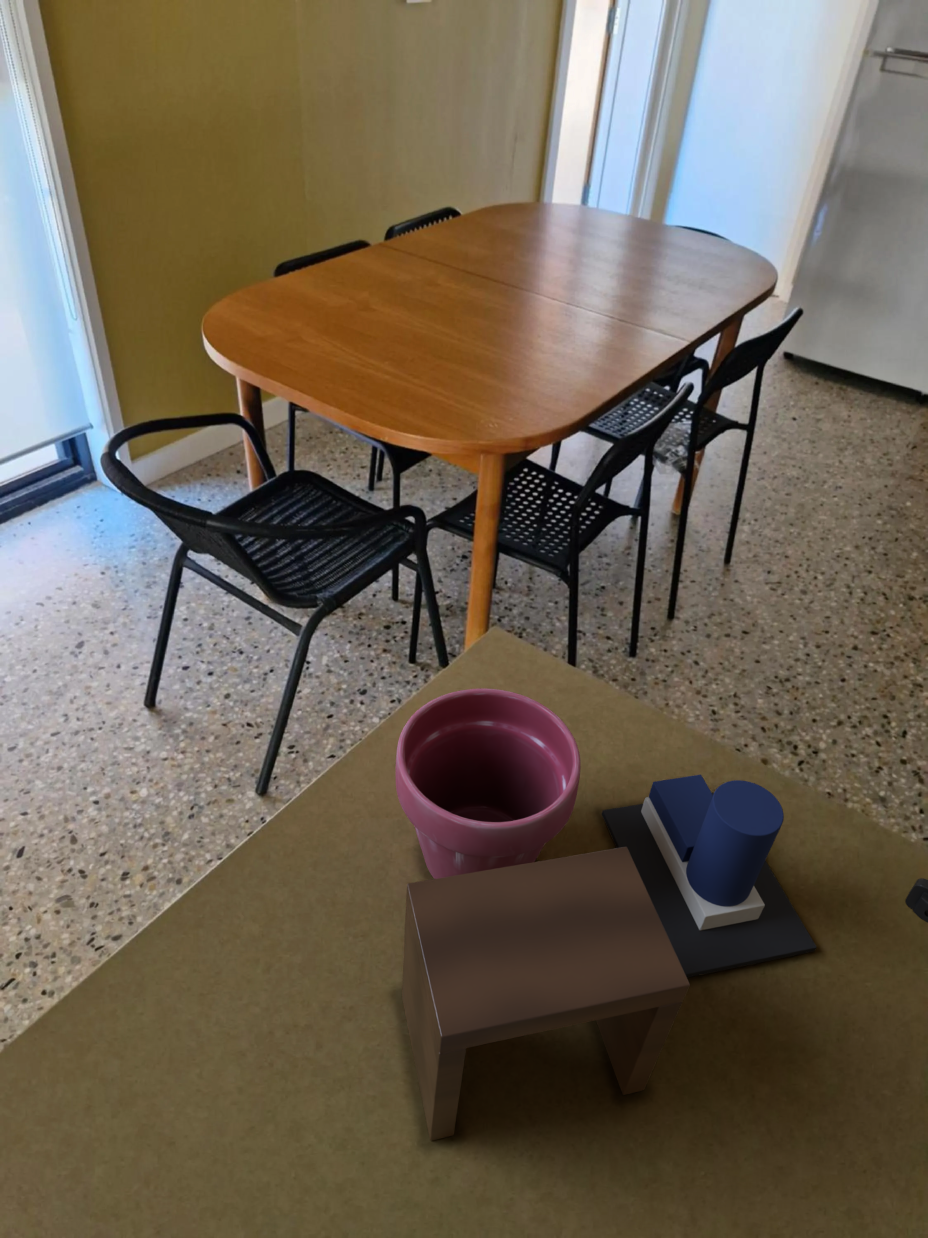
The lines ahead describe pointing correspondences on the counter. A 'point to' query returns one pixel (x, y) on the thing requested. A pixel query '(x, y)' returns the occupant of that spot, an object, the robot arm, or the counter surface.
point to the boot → (714, 843)
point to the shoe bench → (535, 967)
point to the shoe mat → (693, 947)
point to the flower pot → (485, 779)
